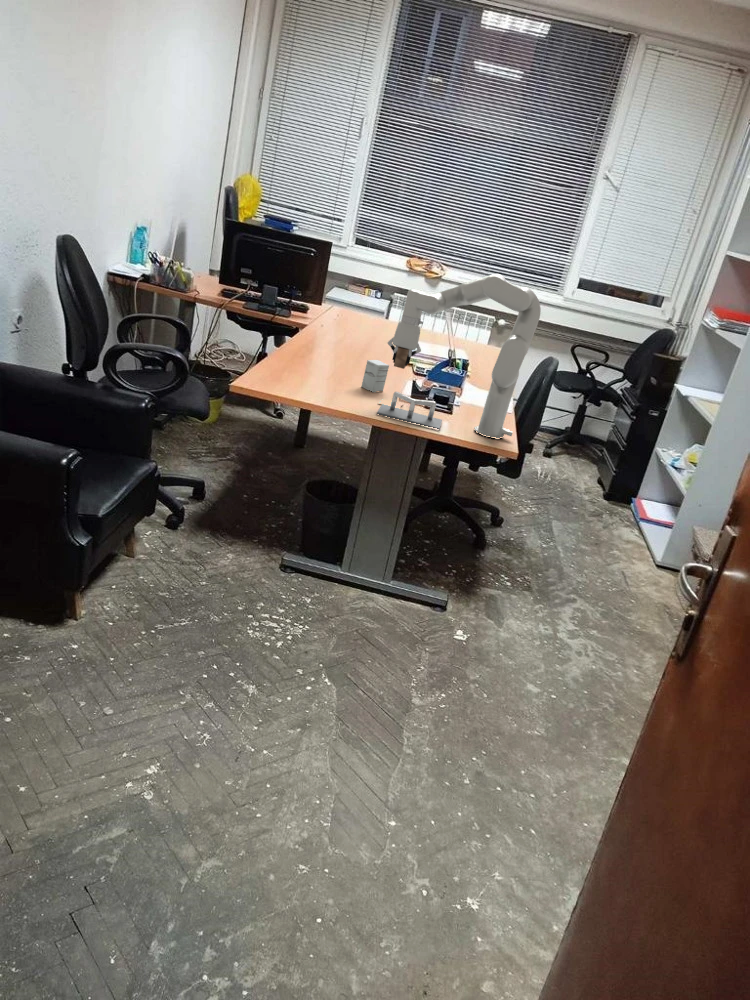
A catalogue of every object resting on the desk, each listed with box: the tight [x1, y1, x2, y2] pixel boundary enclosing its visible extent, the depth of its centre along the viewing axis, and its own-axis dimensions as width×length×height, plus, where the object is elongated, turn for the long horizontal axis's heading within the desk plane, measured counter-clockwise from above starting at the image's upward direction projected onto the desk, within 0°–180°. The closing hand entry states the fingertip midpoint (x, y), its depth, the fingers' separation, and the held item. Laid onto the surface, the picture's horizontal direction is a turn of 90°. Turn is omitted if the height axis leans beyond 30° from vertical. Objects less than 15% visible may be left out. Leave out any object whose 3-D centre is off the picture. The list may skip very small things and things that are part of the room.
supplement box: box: [361, 359, 390, 393], centre depth 336 cm, size 7×7×13 cm
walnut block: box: [393, 347, 409, 370], centre depth 315 cm, size 4×4×8 cm
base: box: [376, 404, 443, 430], centre depth 310 cm, size 26×13×1 cm, turn 81°
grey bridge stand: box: [390, 391, 437, 420], centre depth 308 cm, size 18×7×8 cm, turn 81°
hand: (400, 363), depth 316 cm, fingers closed on walnut block, 4 cm apart
